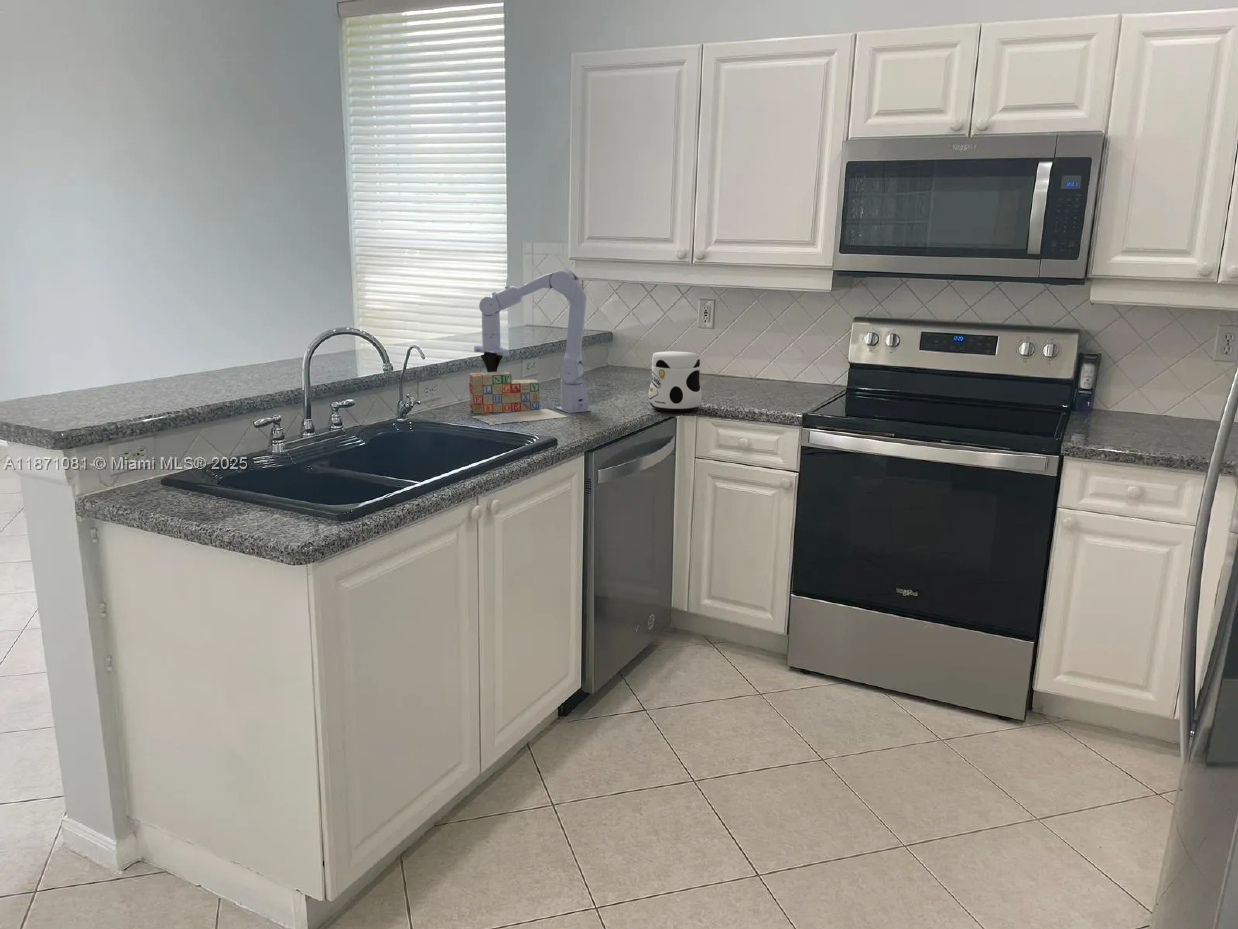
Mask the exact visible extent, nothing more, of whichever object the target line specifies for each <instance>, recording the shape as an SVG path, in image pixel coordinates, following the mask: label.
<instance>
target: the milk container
mask: <svg viewBox="0 0 1238 929" xmlns="http://www.w3.org/2000/svg"><path fill="white" fill-rule="evenodd" d="M700 373H701V355H700V354H699V353H695V352H692V351H691V352H690V351H678V350H677V351H676V350H675V351H672V350H671V351H668V350H667V351H658V352H657V351H656V352H654V353H652V357H651V381H650V386H649V390H648V401H649V402H648V403H649V405H650V406H651V407H652V408H654V409H657V410H660V411H666V412H687V411H694V410H695V409H698V408H699V407H700V406H701V402H702V398H703V392H702V387H701V383H700V381H701V380H700V378H701V377H700V376H701V374H700Z"/></svg>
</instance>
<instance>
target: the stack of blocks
mask: <svg viewBox="0 0 1238 929" xmlns="http://www.w3.org/2000/svg"><path fill="white" fill-rule="evenodd" d="M468 376H469V378H468V379H469V384H468V385H469V403H470V404H469V407H470V412H472V411H473V412H472V414H474V413H482V414H490V413H489V412H502V413H506V412H505V411H517V412H522V411H532V410H540V382H539V381H538V380H536V379H514V380H513V379H512V373H510V372H509V371H497V372H470V373H468Z"/></svg>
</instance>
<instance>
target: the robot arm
mask: <svg viewBox="0 0 1238 929" xmlns="http://www.w3.org/2000/svg"><path fill="white" fill-rule="evenodd" d="M541 289H549V290H550V289H553V290H555V292H558V293H559V294H561V295H563V296H564V297H565V299H566V300H567V301H568V302H569V313H568V320H567V321H568V322H567V323H568V324H567V335H566V345H565V346H566V347H565V353H564V357H563V361H562V365H561V367H560V368H559V373H558V374H559V377H560V379H561V380H560V405H559V406H555V409H556V410H560V411H562V412H565V413H568V414H575V413H584V412H591V409H589V390H588V388H587V387H586V386H584V380H583V377H582V376H583V375H584V374H585V367H584V364H583V355H582V348H583V347H582V346H583V338H584V326H585V318H586V317H585V315H586V307H587V306H586V304H587V295H586V292H585V291H584V289H583V287H582V284H581V282H580V279H579V277H578V276H577V274H575V273H574V272H573V271H572V270H569V269H563V270H556V271H555V272H551V273H547V274H544V275H541V276H539V277H537V278H534V279H533V280H531V281H529V282H527V283H525V284H523V285H521V286H519V287H518V286H515V285H511V286H510V284H509V285H506V286H504V289H501V290H499V291H497V292H492V293H491V296H490V295H489V296H487V295H486V296H484V297H482V299H481V300H480V301H479V304H478V305H479V310H480V312H481V335H482V338H481V339H482V345H475V346H474V348H473V352H474V353H483V354H481V355H480V358H481V360H482V361H483V363H484V365H485V368H486V371H487V372H498V368H499V365H500V363H501V361H502V359H503V357H510V349H507V348H504V347H503V346H501V318H500V312H501V311H504V310H506V309H508V308H510V307H513V306H515V305H517V304H519V303H521V302H522V299H523V297H524V296H527V295H529V294H532V293H535V292H537V291H539V290H541Z"/></svg>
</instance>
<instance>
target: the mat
mask: <svg viewBox="0 0 1238 929" xmlns="http://www.w3.org/2000/svg"><path fill="white" fill-rule="evenodd" d="M501 414H516V415H509V416H507V415H503V416H500V415H499V416H482V415H475V416H471V418H472V419H475V418H515V419H507V420H503V419H502V420H500V419H498V420H481V421H480V422H482V421H519V422H518V423H523V422H522V421H528V422H535V421H537V422H538V421H543V420H553V419H554V418H556V419H563V418H565V419H566V418H569V416H567V415H564V414H563V413H559V412H556V411H554V410H550V409H548V408H544V409H543V408H542V409H539V410H532V411H517V412H502V413H501ZM554 420H555V419H554ZM520 421H521V422H520ZM497 424H499V425H502V424H501V423H497ZM488 426H496V425H495V424H491V423H490V424H489V425H488Z"/></svg>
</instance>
